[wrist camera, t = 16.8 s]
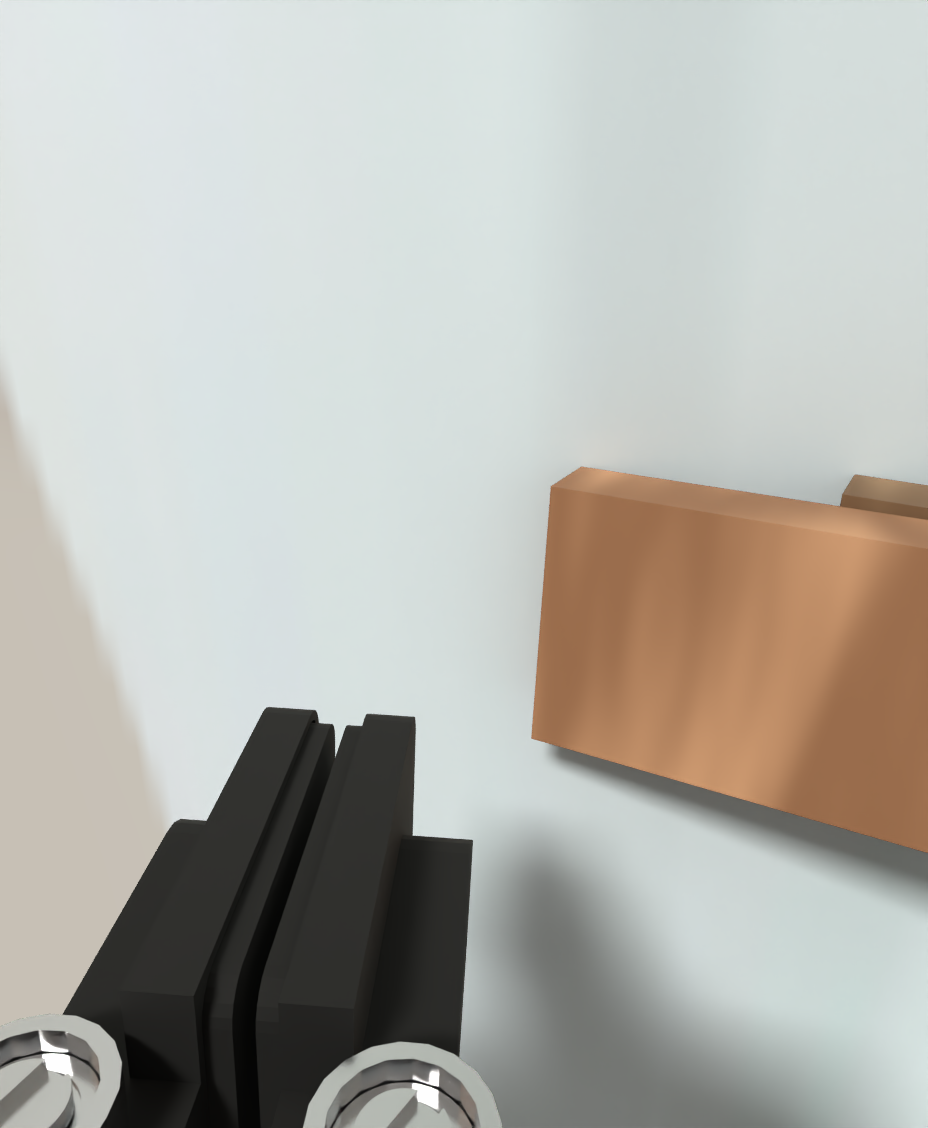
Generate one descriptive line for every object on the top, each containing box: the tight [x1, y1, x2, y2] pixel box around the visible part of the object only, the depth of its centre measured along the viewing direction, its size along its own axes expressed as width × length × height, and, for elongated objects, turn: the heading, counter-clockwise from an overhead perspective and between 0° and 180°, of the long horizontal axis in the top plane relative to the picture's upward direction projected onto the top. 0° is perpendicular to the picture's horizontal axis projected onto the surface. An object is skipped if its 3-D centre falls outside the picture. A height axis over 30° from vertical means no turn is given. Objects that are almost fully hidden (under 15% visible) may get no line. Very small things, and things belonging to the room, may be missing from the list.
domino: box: [531, 467, 928, 853], centre depth 15 cm, size 2×5×10 cm
